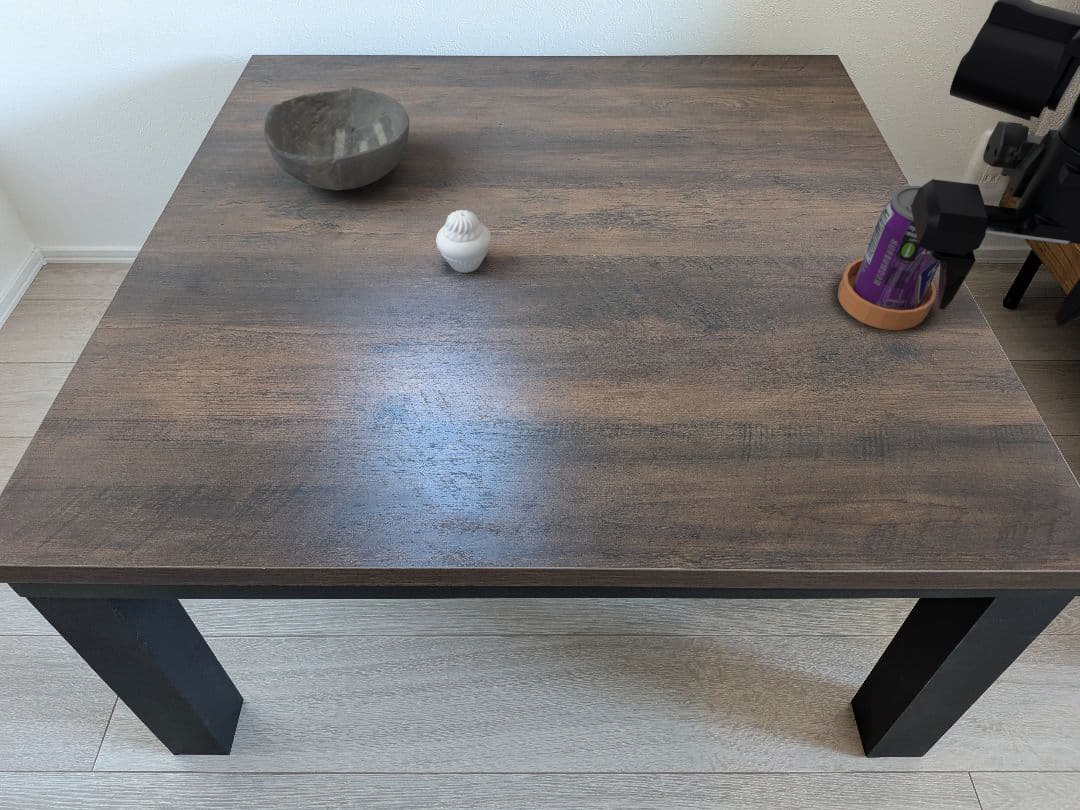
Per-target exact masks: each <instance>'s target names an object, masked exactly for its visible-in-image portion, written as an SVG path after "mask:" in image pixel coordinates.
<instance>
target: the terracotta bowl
mask: <svg viewBox="0 0 1080 810" xmlns="http://www.w3.org/2000/svg"><path fill="white" fill-rule="evenodd" d="M863 259H864V256H863V257H860V258H858V259H855V260H853V261H852V262H851V263H849V264H848V265H847V266H846V268H845V270H844V272H843V275H842V277H841V280H840V282H839V285H838V290H837V297H838V301H839V303H840V306H841V307H842V308H843V309H844V311H845V312H846V313H847V314H848V315H850V316H851V317H852V318H854V319H855V320H856V321H859V322H860V323H863V324H865V325H867V326H870V327H873V328H877V329H881V330H887V331H901V330H902V331H903V330H908V329H911V328H914V327H916V326H919V324H921V323H922V322H923V321H924V320H925V319H926V317H927V316H928V314H929V312H930V310H931V308H932V306H933V304H934V302H935V300H936V296H937V289H936V285H935V283H934V281H933V280H932V282H931V284H930V286H929V288H928V290H927V292H926V294H925V297H924V299H923V301H922V303H921V305H920V306H919V307H918V308H915V309H910V310H894V309H886V308H883V307H880V306H877V305H874V304H872V303H870V302H868V301H866V300H865V299H863V298H861V297H860V296H859V295H858V294H857V293H856V292H854V289H853V286H854V282H855V279H856V277H857V274H858V272H859V269H860V266H861V264H862V261H863Z"/></svg>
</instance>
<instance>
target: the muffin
mask: <svg viewBox="0 0 1080 810" xmlns="http://www.w3.org/2000/svg"><path fill="white" fill-rule="evenodd" d="M435 244H436V247H437V249H438V251H439V252H440V254H441V256H442V257H443V259H444V260H445V261H446V262H447V263H448V264H449V265H450V267H451V268H452V269H453V270H454V271H456V272H458V273H464V274H465V273H466V274H467V273H471V272H475V271H477V270H478V268H480V266H481V264H482V263H483V261H484V259H485V258H486V255H487V254H488V252H489V249H490V246H491V244H492V235H491V232H490V230H489V228H488V227H486V225H484V224H483V223H481V222H480V221H479V218H478V215H476V214H475V213H474V212H473V211H471V210H468V209H464V210H463V209H460V210H458V209H457V210H455V211H452V212H451V213H450V214H448V216H447V218H446V220H445V224H444V225H443V226H442V227H441V228H440V229H439V231H438V232H437V234H436V236H435Z"/></svg>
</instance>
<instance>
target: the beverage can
mask: <svg viewBox="0 0 1080 810" xmlns="http://www.w3.org/2000/svg"><path fill="white" fill-rule="evenodd" d="M922 186H923V185H908V186H903V187H900V188H898V189H897V190H896V191H895V192H894V193H893V194H892V197H891V199H890V200H889V201H888V202H886V203H885V205H884V206H883V208H882V210H881V211H880V214H879V217H878V220H877V222H876V225H875V227H874V230H873V232H872V235H871V238H870V239H869V243H868V246H867V248H866V251H865V253H864V256H863V257H864V259H863V261H862V264H861V266H860V269H859V272H858V274H857V277H856V279H855V282H854V286H853V289H854V292H856V293H857V294H858V295H859V296H860V297H861V298H863V299H865V300H866V301H868V302H870V303H872V304H874V305H877V306H880V307H883V308H886V309H894V310H910V309H915V308H918V307H919V306H920V305H921V303H922V301H923V299H924V297H925V294H926V292H927V290H928V288H929V286H930V284H931V282H932V281H933V280H934V278H935V276H936V273H937V271H938V269H939V268H940V260H937V259H935V258H934V257H933V256H932V254H931V251H927V250H925V249H924V248H922V247H921V246H919V245H918V240H917V235H916V230H915V224H914V219H913V214H912V209H911V205H912V203H913V201H914V198H915V196H916V194H917V191H918V189H919V188H920V187H922Z"/></svg>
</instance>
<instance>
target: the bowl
mask: <svg viewBox="0 0 1080 810" xmlns="http://www.w3.org/2000/svg"><path fill="white" fill-rule="evenodd" d="M263 129H264V131H263V137H264V141H265V143H266V144H267V146H268V149H269V150H270V153H271V155H272V158H273V160H275V162H276V163H277V164H278V166H279V167H280V168H281V169H282V170H283V171H284V172H285V173H287V174H288V175H289V176H291V177H293V178H294V179H296V180H297V181H299V182H301V183H303V184H307V185H310V186H312V187H314V188H319V189H324V190H332V191H344V190H345V191H346V190H353V189H357V188H363V187H365V186H368V185H370V184H372V183H374V182H377V181H378V180H380V179H382V178H383V177H385V176H386V175H388V174H389V173H390V172H391V171H392V170H393V169H394V168H396V167H397V165H398V164H399V162H400V160H401V159H402V157H403V154H404V152H405V151H406V147H407V144H408V140H409V132H410V118H409V115H408V113H407V111H406V109H405V107H403V105H402V104H401V103H400V102H399V101H397V100H396V99H395V98H392V96H390V95H388V94H385V93H384V92H383V93H382V92H376V91H375V90H371V89H368V88H367V89H366V88H361V87H355V86H351V87H345V88H342V89H341V88H340V89H337V90H328V91H320V92H312V93H305V94H301V95H298V96H296V97H292V98H291V99H288V100H283V101H281V102H280V103H277V104H274V105H273V106H272V107H271V108H270V109H269V111H268V112H267V115H266V117H265V121H264V127H263Z"/></svg>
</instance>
